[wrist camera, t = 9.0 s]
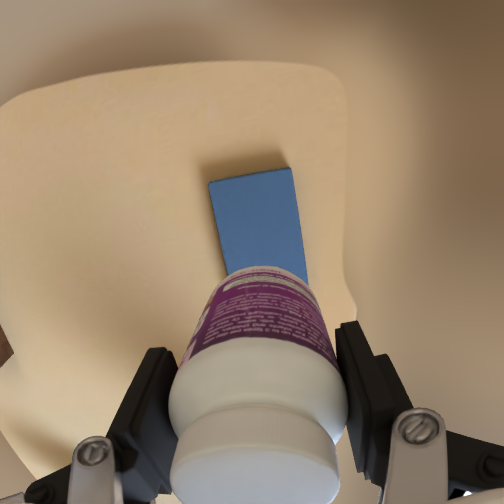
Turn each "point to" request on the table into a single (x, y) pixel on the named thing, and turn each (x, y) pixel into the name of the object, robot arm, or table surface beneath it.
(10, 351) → the rack
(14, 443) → the table surface
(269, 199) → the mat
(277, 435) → the pill bottle
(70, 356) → the table surface
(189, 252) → the table surface
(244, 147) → the table surface
